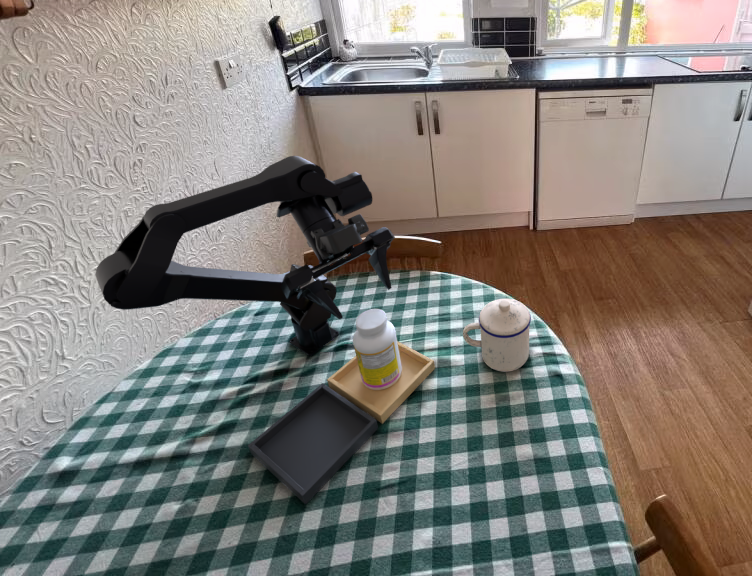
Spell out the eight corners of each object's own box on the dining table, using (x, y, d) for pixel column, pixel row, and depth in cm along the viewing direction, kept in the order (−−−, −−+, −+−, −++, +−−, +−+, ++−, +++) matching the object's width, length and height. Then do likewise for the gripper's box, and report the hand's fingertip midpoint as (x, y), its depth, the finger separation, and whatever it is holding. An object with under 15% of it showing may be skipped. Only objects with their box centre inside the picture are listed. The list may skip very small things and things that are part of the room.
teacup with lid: (528, 334, 80) (528, 285, 75) (532, 372, 72) (533, 321, 67) (465, 336, 79) (462, 288, 74) (463, 376, 71) (459, 324, 66)
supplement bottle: (369, 359, 74) (358, 303, 68) (406, 360, 74) (397, 304, 68) (356, 392, 68) (341, 333, 62) (395, 393, 68) (385, 334, 62)
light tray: (329, 387, 69) (326, 379, 68) (384, 340, 79) (382, 333, 78) (382, 424, 63) (380, 415, 62) (435, 368, 73) (434, 360, 72)
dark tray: (251, 453, 59) (247, 445, 58) (324, 391, 69) (322, 382, 68) (305, 504, 53) (302, 496, 52) (378, 428, 63) (376, 419, 62)
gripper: (265, 232, 59) (321, 326, 57) (379, 186, 71) (427, 262, 70) (261, 256, 67) (309, 339, 66) (364, 211, 80) (406, 280, 78)
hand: (366, 303), depth 70 cm, fingers open, 9 cm apart
